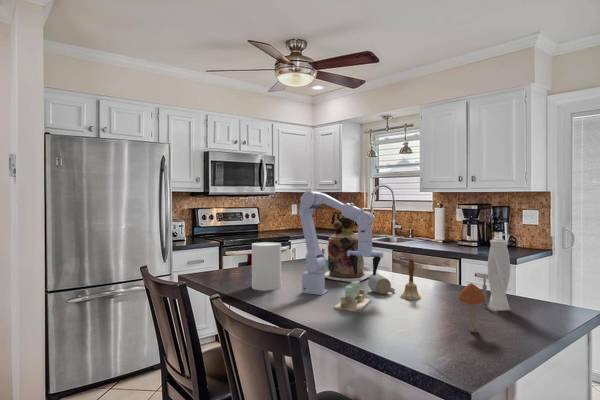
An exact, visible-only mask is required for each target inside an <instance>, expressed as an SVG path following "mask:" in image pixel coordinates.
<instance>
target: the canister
mask: <svg viewBox="0 0 600 400" xmlns="http://www.w3.org/2000/svg"><path fill="white" fill-rule="evenodd" d="M281 288H282V243H281V242H273V241H270V242H269V241H263V242H262V241H261V242H254V243H253V242H252V243H251V289H253V290H255V291H256V290H257V291H268V292H269V291H275V290H279V289H281Z"/></svg>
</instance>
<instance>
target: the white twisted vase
mask: <svg viewBox="0 0 600 400" xmlns="http://www.w3.org/2000/svg"><path fill="white" fill-rule="evenodd" d="M500 236H507V237H506V240H505V239H504V238H500ZM510 236H511V235H510V234H509V233H500V234H496V235H495V236H494V237H493V238H492V239H490V240H489V242H490V248H489V251H488V258H487V278H488V284H489V285H488V286H489V290H490V297H489V301H488V297H487V290H488V289H487V284H486V283H487V282H486V281H487V279H486V273H484V274H483V284H482V293H483V294H484V296H485V298H486V301H485V302H484V303H481V307H483V308H484V309H487V310H489V311H491V312H503V311H504V312H505V311H511V308H510V305H509V302H508V298H507V290H508V286H509V282H510V278H511V277H510V276H511V260H510V254H509V253H510V252H509V249H508V241H509V238H510Z"/></svg>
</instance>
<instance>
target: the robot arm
mask: <svg viewBox="0 0 600 400" xmlns="http://www.w3.org/2000/svg"><path fill="white" fill-rule="evenodd" d="M299 200H300V204H299V209H298V214H299V218H300V223H301V227H302V228H301V229H302V232H303V236H304V242H305V245H306V250H307V252H306V255H305V265H304V266H305V268H306V269H305V270H307V271H304V272H303V274H302V278H301V279H302V280H301V286H302V288H301V294H307V295H308V294H309V295H319V296H322V295H325V293H327V292H328V291H329V290H328V289H326V288H325V287H326V285H325V284H326V282H325V281H326V280H325V279H326V278H325V273H326V272H325V268H326V267H328V259H327V258H326V257H325V255H324V252H323V251H322V249H320V244H319V240H318V236H317V232H316V231H317V230H316V227H315V226H316V225H315V222H314V218H313V213H314V211H315V209H317V208H318V207H319V206H320V205H323V204H324V205H327V206H328V207H331V208H334V209H335V210H337V211H340V212H341V215H342V217H347V218H349V219H351V220H353V222H355V223H356V224H357V235H358V251H347V256H350V257H349V259H350V261H351V263H352V266H353V269H354V274H357V271H358V270H357V261H358V256H362V257H363V258H365V257H367V258H372V272H373V276H375V275H376V274H377V270H378V266H379V264H380V262H381V259H383V258H384V252H380V251H373V223H374V220H375V217H374V214H373V213H372V212H370V211H369V210H367V211H366V210H365V209H364V208H359V207H358V206H355V203H353V202H350V203H349V202H347V203H343V202H341V201H339V200H338V199H336V198H334V197H332V196H330V195H328V194H327V193H325V192H321V191H318V190H316V191H312V190H311V191H310V190H308V191H307V190H306V191H304V193H302V195H301V196H300V199H299Z"/></svg>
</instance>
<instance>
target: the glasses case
mask: <svg viewBox="0 0 600 400" xmlns="http://www.w3.org/2000/svg"><path fill="white" fill-rule="evenodd" d="M360 289H361V281H353V282H349V284H347V285H346V286H345V288H344V297H350V298H356V297H357V296H358V295H359V294H360Z"/></svg>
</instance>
